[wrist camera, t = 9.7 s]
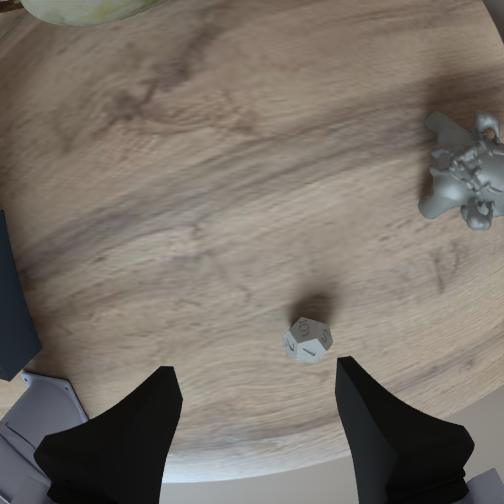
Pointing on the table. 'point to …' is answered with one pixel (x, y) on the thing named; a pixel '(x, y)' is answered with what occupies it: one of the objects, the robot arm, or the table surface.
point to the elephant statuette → (466, 170)
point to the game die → (307, 340)
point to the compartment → (13, 315)
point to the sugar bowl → (80, 10)
